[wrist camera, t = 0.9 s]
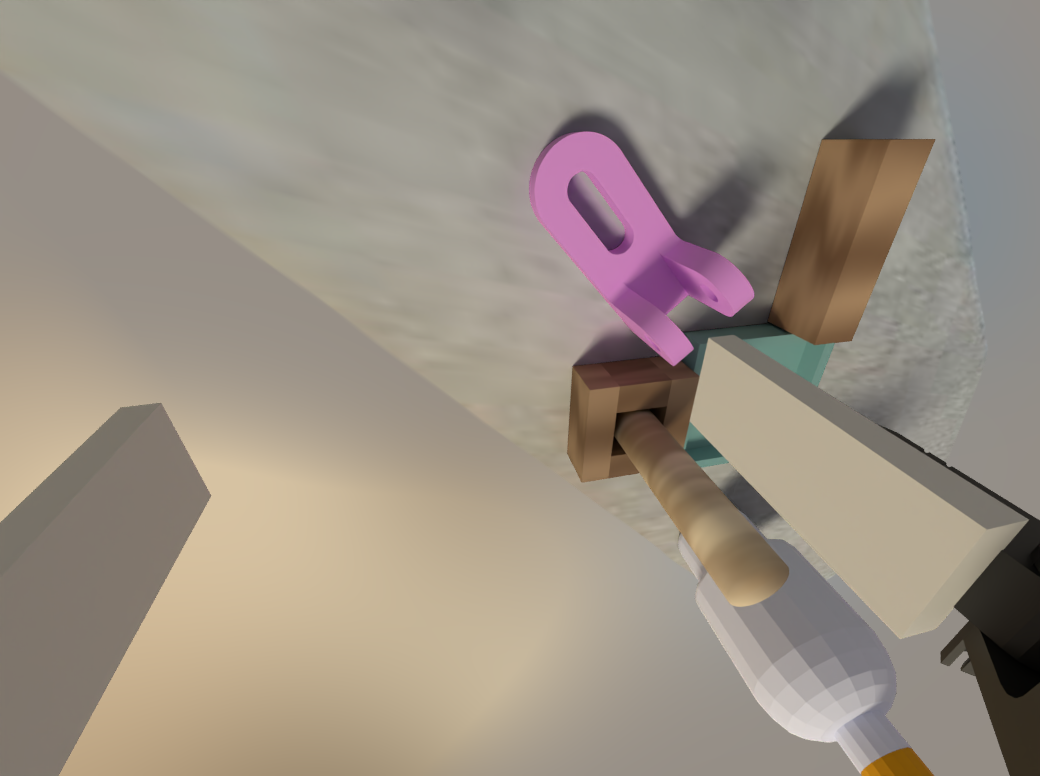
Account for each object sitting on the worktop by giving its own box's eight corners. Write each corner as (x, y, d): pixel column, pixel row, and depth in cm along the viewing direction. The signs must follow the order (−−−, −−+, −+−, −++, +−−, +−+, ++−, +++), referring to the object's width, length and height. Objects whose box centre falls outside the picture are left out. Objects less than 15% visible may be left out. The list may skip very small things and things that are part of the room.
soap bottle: (767, 523, 46) (1050, 826, 26) (688, 576, 48) (895, 899, 28) (732, 475, 41) (1052, 809, 21) (645, 537, 43) (860, 901, 22)
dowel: (600, 390, 33) (736, 569, 19) (639, 386, 33) (798, 555, 20) (597, 425, 34) (720, 612, 21) (634, 420, 35) (777, 598, 21)
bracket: (693, 274, 30) (763, 307, 24) (631, 330, 31) (683, 375, 25) (582, 107, 23) (641, 96, 17) (508, 185, 24) (540, 200, 18)
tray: (682, 332, 32) (699, 344, 30) (816, 318, 34) (840, 329, 32) (658, 455, 37) (671, 472, 36) (773, 437, 39) (791, 452, 38)
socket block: (572, 366, 31) (589, 390, 28) (673, 354, 32) (700, 376, 29) (567, 453, 35) (581, 482, 32) (657, 439, 36) (679, 466, 33)
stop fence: (822, 139, 27) (890, 139, 23) (862, 139, 27) (935, 139, 23) (767, 321, 33) (814, 345, 29) (801, 317, 33) (851, 340, 29)
